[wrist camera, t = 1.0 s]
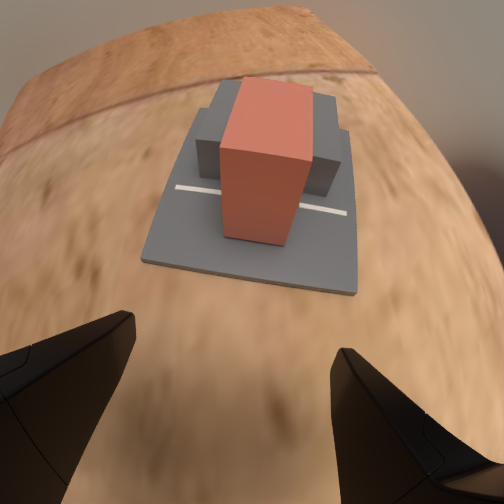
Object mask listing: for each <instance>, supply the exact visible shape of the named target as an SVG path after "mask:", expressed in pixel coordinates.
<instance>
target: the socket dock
mask: <svg viewBox="0 0 504 504" xmlns="http://www.w3.org/2000/svg"><path fill="white" fill-rule="evenodd" d="M241 84H242V81H233V80H222V81H221V83H220V85H219V87H218V89H217V91H216V93H215V96H214V98H213V100H212V102H211V104H210V106H209V108H200V109H199V111H198V113H197V115H196V117H195V119H194V121H193V123H192V126H191V128H190V130H189V132H188V134H187V137H186V139H185V141H184V143H183V146H182V148H181V150H180V153H179V155H178V157H177V160H176V162H175V164H174V167H173V169H172V172H171V174H170V177H169V179H168V182H167V184H166V187H165V189H164V192H163V195H162V197H161V200H160V203H159V205H158V208H157V211H156V213H155V216H154V219H153V222H152V225H151V228H150V230H149V233H148V236H147V239H146V242H145V245H144V248H143V251H142V255H141V260H142V261H143V262H146V263H151V264H156V265H162V266H167V267H173V268H178V269H184V270H190V271H195V272H201V273H207V274H213V275H219V276H225V277H231V278H237V279H243V280H249V281H255V282H262V283H268V284H275V285H281V286H288V287H295V288H301V289H308V290H315V291H322V292H329V293H337V294H344V295H351V296H354V295H355V294H357V223H356V204H355V189H354V176H353V165H352V155H351V146H350V137H349V131H347V130H343V129H339V125H338V115H337V106H336V98H335V97H333V96H329V95H324V94H319V93H315V92H313V158H312V164H311V168H310V171H309V174H308V177H307V180H306V183H305V186H304V189H303V192H302V195H301V198H300V201H299V204H298V207H297V210H296V213H295V216H294V219H293V222H292V225H291V228H290V231H289V234H288V237H287V240H286V243H285V246H281V245H275V244H268V243H262V242H256V241H250V240H243V239H237V238H231V237H224V234H223V216H222V196H221V175H220V150H219V147H220V144H221V141H222V138H223V135H224V132H225V129H226V126H227V123H228V120H229V117H230V114H231V112H232V109H233V106H234V103H235V100H236V98H237V95H238V92H239V89H240V87H241Z"/></svg>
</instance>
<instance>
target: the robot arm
mask: <svg viewBox="0 0 504 504" xmlns="http://www.w3.org/2000/svg"><path fill="white" fill-rule="evenodd" d="M135 341H136V324H135V316H134V314H133V313H132V312H128V311H124V310H121V311H118V312H115V313H113V314H110V315H108V316H105V317H102V318H100V319H97V320H95V321H92V322H89V323H87V324H84V325H82V326H79V327H76V328H74V329H71V330H69V331H66V332H63V333H61V334H58V335H55V336H53V337H50V338H48V339H45V340H42V341H40V342H37V343H34V344H32V346H31V345H29V346H26V347H24V348H21V349H18V350H15V351H13V352H10V353H7V354H3V355H0V504H61V502H62V499H63V497H64V495H65V493H66V490H67V488H68V487H67V486H68V485H69V483H70V481H71V478H72V476H73V474H74V472H75V470H76V468H77V465H78V463H79V461H80V459H81V457H82V455H83V453H84V450H85V448H86V446H87V444H88V442H89V440H90V438H91V436H92V434H93V432H94V430H95V428H96V426H97V424H98V422H99V420H100V418H101V416H102V414H103V412H104V410H105V408H106V406H107V404H108V402H109V400H110V398H111V397H112V395H113V393H114V391H115V389H116V387H117V385H118V383H119V381H120V379H121V376H122V374H123V371H124V369H125V366H126V364H127V361H128V359H129V356H130V354H131V351H132V349H133V346H134V344H135ZM330 390H331V419H332V427H333V435H334V443H335V450H336V459H337V467H338V476H339V486H340V496H341V504H504V464H500V463H496V462H493V461H490V460H488V459H487V458H485V457H484V456H482V455H481V454H479V453H478V452H476V451H475V450H474V449H472V448H471V447H469V446H468V445H466V444H465V443H464V442H462V441H461V440H459V439H458V438H457V437H455V436H454V435H453V434H451V433H450V432H449V431H447V430H446V429H445V428H444V427H442V426H441V425H440V424H439V423H437V422H436V421H435V420H434V419H433V418H432V417H430V416H429V415H428V414H425V411H424V410H422V409H421V408H420V407H419V406H418V405H417V404H415V403H414V402H413V401H412V400H411V399H410V398H409V397H407V396H406V395H405V394H404V393H403V392H402V391H401V390H399V389H398V388H397V387H396V386H395V385H394V384H393V383H391V382H390V381H389V380H388V379H387V378H386V377H385V376H383V375H382V374H381V373H380V372H379V371H378V370H377V369H376V368H374V367H373V366H372V365H371V364H370V363H369V362H368V361H366V360H365V359H364V358H363V357H362V356H361V355H360V354H358V353H357V352H356V351H355V350H354V349H352V348H340V349H339V350H338V352H337V355H336V357H335V360H334V362H333V365H332V367H331V371H330Z"/></svg>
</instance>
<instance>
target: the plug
mask: <svg viewBox="0 0 504 504" xmlns="http://www.w3.org/2000/svg"><path fill="white" fill-rule="evenodd" d="M219 150H220V175H221V196H222V216H223V234H224V237H231V238H237V239H243V240H250V241H256V242H262V243H268V244H275V245H281V246H285V243H286V240H287V237H288V234H289V231H290V228H291V225H292V222H293V219H294V216H295V213H296V210H297V207H298V204H299V201H300V198H301V195H302V192H303V189H304V186H305V183H306V180H307V177H308V174H309V171H310V168H311V164H312V158H313V87H311V86H306V85H301V84H295V83H289V82H283V81H276V80H269V79H262V78H254V77H245V76H244V78H243V81H242V84H241V87H240V89H239V92H238V95H237V98H236V100H235V103H234V106H233V109H232V112H231V114H230V117H229V120H228V123H227V126H226V129H225V132H224V135H223V138H222V141H221V144H220V147H219Z"/></svg>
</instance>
